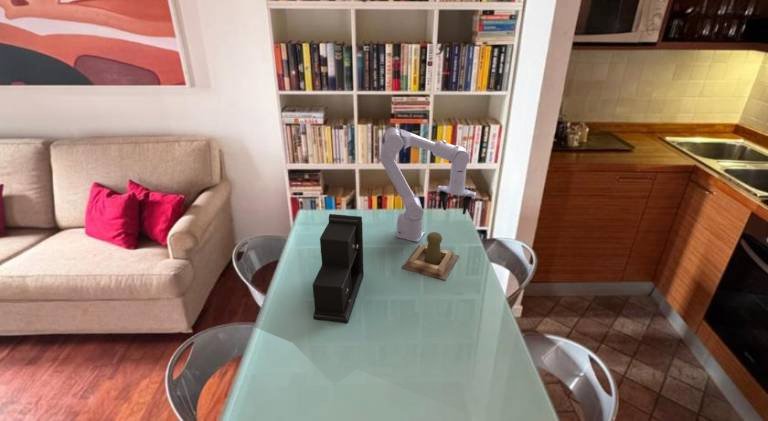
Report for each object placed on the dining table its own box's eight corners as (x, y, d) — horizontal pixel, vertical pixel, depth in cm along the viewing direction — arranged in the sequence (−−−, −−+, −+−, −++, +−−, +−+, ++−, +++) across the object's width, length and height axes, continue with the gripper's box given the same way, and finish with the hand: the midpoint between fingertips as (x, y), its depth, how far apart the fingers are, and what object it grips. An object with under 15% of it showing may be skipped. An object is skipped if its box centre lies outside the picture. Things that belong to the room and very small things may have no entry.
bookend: (348, 324, 119) (344, 257, 108) (312, 319, 120) (305, 253, 109) (364, 276, 139) (362, 215, 128) (333, 272, 141) (329, 213, 130)
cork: (439, 266, 143) (442, 240, 138) (422, 263, 145) (424, 237, 140) (442, 257, 148) (444, 231, 143) (426, 254, 150) (427, 228, 145)
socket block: (401, 268, 143) (401, 262, 142) (418, 245, 156) (418, 240, 155) (445, 280, 137) (445, 274, 136) (459, 256, 150) (459, 250, 148)
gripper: (479, 178, 153) (475, 210, 159) (442, 172, 158) (440, 203, 165) (474, 185, 147) (470, 218, 153) (436, 178, 153) (434, 210, 159)
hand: (454, 211), depth 159 cm, fingers open, 7 cm apart
